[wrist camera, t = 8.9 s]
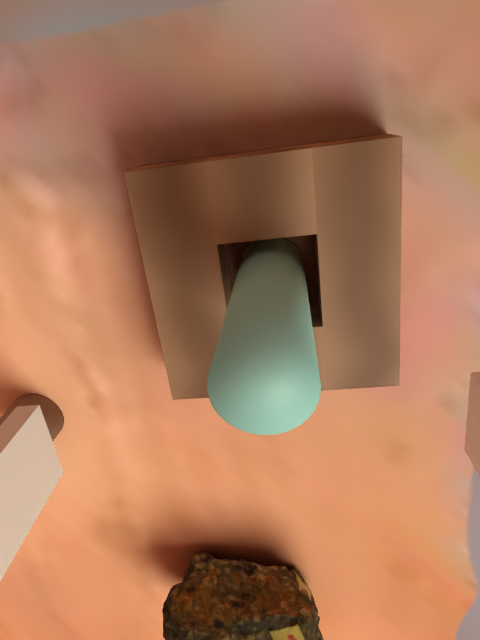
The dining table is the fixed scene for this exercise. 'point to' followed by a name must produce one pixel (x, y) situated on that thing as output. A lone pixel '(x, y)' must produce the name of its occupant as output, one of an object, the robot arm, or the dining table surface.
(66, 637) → the dining table surface
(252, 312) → the long dowel
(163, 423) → the dining table surface
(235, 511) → the dining table surface
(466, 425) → the robot arm
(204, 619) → the rock
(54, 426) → the short dowel
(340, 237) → the hole block
